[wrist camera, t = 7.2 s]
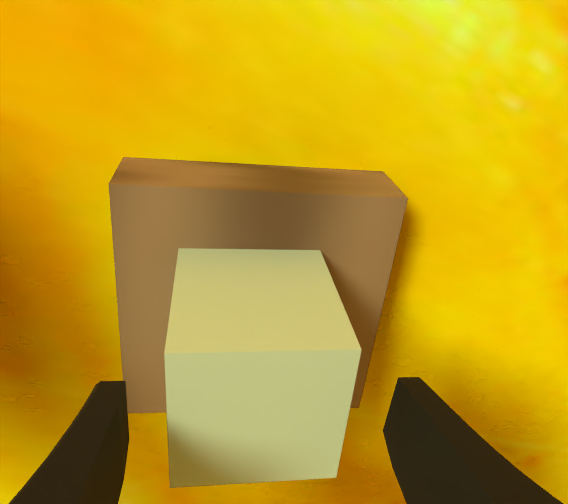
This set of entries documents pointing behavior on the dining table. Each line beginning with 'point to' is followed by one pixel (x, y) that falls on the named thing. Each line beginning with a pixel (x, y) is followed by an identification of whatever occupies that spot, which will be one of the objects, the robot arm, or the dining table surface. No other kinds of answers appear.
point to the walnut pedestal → (243, 244)
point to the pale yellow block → (256, 368)
